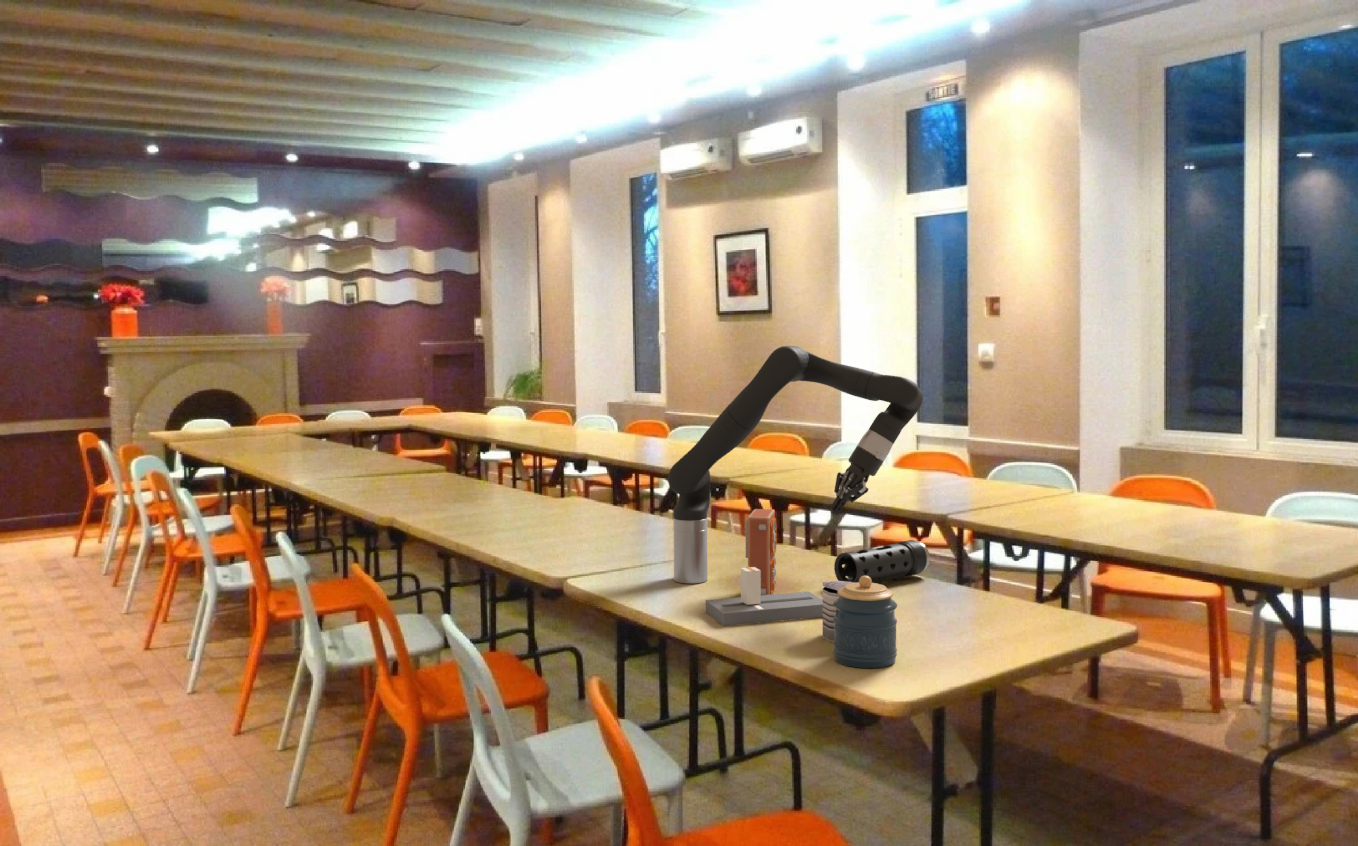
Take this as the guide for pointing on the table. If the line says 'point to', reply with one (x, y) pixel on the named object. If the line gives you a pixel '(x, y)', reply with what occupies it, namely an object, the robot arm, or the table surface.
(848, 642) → the canister
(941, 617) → the table surface
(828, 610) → the can
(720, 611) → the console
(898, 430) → the robot arm
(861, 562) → the muzzle brake
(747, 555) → the control panel
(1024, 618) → the table surface
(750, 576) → the fader tab
